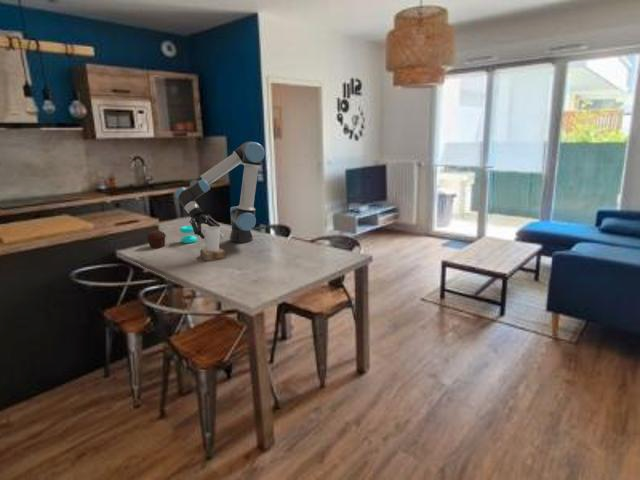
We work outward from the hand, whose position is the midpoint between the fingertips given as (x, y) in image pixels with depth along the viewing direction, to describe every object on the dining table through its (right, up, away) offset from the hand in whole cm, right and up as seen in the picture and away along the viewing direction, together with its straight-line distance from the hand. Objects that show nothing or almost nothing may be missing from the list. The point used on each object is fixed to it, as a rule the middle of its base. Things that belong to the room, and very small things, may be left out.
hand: (215, 239), depth 235 cm
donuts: (-27, -1, +38) cm, 46 cm away
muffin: (-44, -4, +28) cm, 52 cm away
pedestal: (-2, -10, +4) cm, 11 cm away
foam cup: (-2, -6, +3) cm, 7 cm away
